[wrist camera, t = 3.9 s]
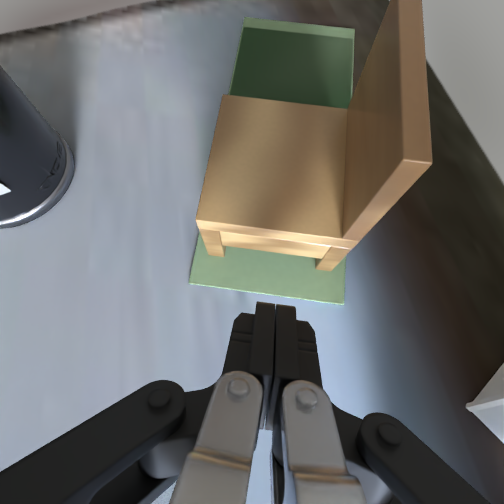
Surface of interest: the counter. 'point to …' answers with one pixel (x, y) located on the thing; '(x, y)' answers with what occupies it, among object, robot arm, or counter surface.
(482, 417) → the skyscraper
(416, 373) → the counter surface
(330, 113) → the chair
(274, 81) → the mat
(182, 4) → the counter surface
